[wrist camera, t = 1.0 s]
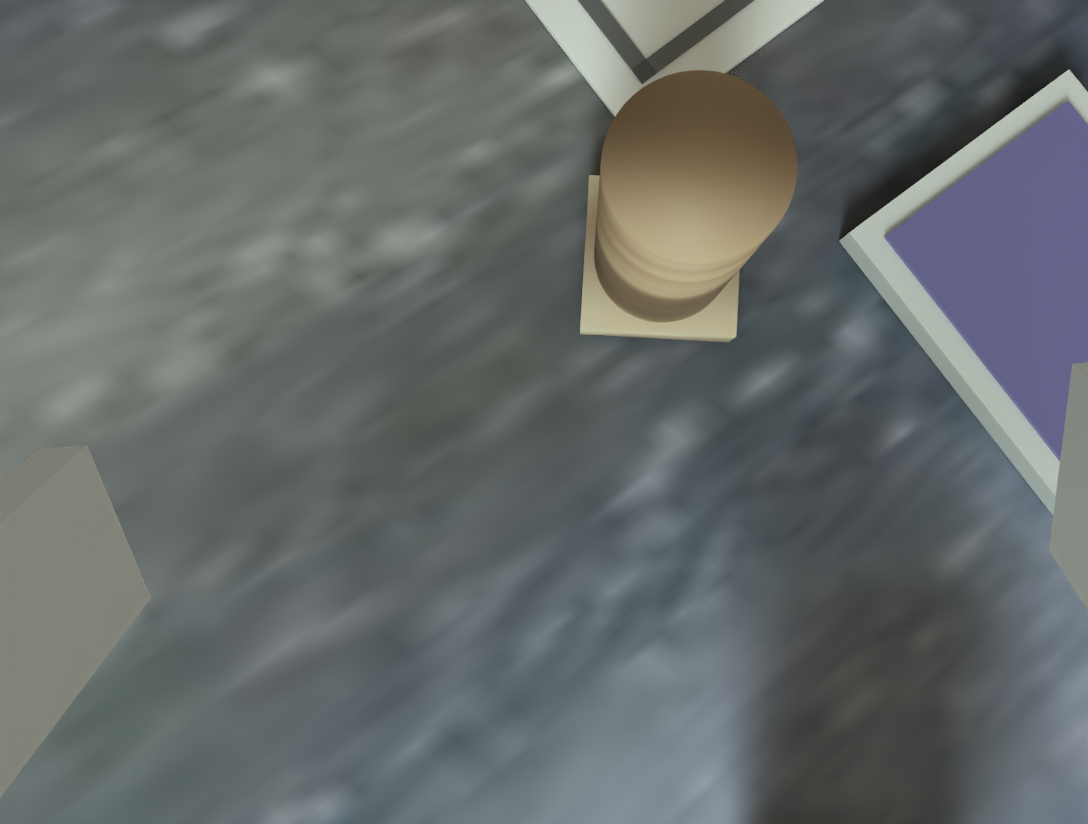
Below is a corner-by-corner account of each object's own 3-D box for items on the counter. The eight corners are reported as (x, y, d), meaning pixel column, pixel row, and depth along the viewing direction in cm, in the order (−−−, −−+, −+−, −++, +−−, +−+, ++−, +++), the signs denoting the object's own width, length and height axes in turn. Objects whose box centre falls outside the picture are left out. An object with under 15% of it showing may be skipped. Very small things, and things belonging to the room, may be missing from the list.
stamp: (726, 343, 31) (805, 281, 20) (580, 335, 32) (580, 270, 21) (733, 199, 32) (816, 61, 21) (588, 192, 32) (594, 52, 21)
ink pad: (839, 241, 31) (850, 231, 30) (1050, 84, 31) (1072, 66, 30) (1060, 524, 31) (1083, 528, 29) (1276, 364, 31) (1310, 359, 29)
